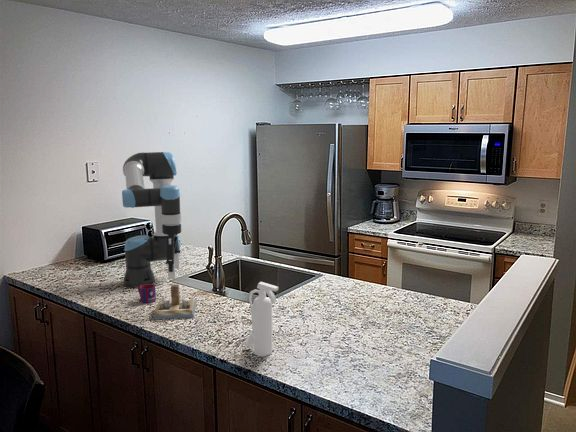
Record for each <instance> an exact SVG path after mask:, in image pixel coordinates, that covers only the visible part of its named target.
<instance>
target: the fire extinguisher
mask: <svg viewBox="0 0 576 432" xmlns="http://www.w3.org/2000/svg"><path fill="white" fill-rule="evenodd" d="M277 291H279V286H277V285H274V284H270V283H267V282H264V281H259V282H258V283H257V286H256V289H253V290H251V291H249V296H248V300H249V301H248V302H249V306H250V317H251V329H252V330H251V333H250V334H249V335H248V336H247V339H246V341H245V345H246V347H247V348H253V354H254V355H255V356H258V357H268V356H270V355H272V353H273V352H274V351H273V344H274V343H273V304H274V303H276V302H277V297H276V295H275V293H274V292H277ZM255 293H257V294H258V297H257V296H256V297H255V298H254V299H253V300H252V297H253V294H255ZM267 296H268V297H267ZM272 351H273V352H272ZM267 355H268V356H267Z"/></svg>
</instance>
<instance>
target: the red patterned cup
mask: <svg viewBox="0 0 576 432" xmlns="http://www.w3.org/2000/svg"><path fill="white" fill-rule="evenodd" d="M137 291H138V294H139V299H140V300H139V301H140V303H142V304H144V305H145V304H146V305H147V304H152V303H155V302H156V301H157V296H156V294H157V293H156V285H155V284H154V283H153V284H145V285H139V286H138V287H137Z"/></svg>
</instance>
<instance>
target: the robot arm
mask: <svg viewBox="0 0 576 432" xmlns="http://www.w3.org/2000/svg"><path fill="white" fill-rule="evenodd" d="M122 172H123V176H124V177H125V186H126V188H125V189H123V190H122V191H121V197H122V199H121V200H122V207H124V208H125V209H126V208H132V209H134V208H143V207H147V208H148V207H154V216H155V217H154V219H155V221H154V222H155V231H154V233H153V234H152V236H153V237H149V235H146V234H143V235H142V234H141V235H135V236H132V237H129V238H127V239H126V240H125V242H124V251H125V252H124V255H125V272H124V277H123V278H122V280H123V281H122V282H123V285H124V286H125V287H127V288H138V286H139V285H145V284H153V285H154V283H155V282H156V277H155V276H156V275H155V274H154V271H153V269H152V265H151V262H160V261H165V265H167V278H168V280H176V270H177V269H180V254H181V236H179V234H181V233H182V224H181V223H182V216H181V215H182V214H181V200H180V199H181V192H180V187H179V186H178V185H173V184H172V182H173V180H174V176H177V172H178V171H177V165H176V159H175V157H174V155H173V153H171V152H169V151H168V152H167V151H159V152H156V151H153V152H149V151H148V152H137V153H135V154H133V155H131V156H130V157H128V158H126V160H125V161H124V163H123V166H122ZM144 177H149V181H150V182H151V183H152V184H153V185H152V186H153V187H152V188H146V187H145V183H144V181H145V180H144Z"/></svg>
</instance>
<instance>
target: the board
mask: <svg viewBox="0 0 576 432" xmlns="http://www.w3.org/2000/svg"><path fill="white" fill-rule="evenodd" d="M181 300H182V302H183V303H184V306H183V309H188V305H187V302H189V300H190V299H189V298H188V297H184V298H181ZM194 300H195V305H194V310H193V314H187V315H166V316H155V313H154V314H153V320H161V319H163V320H164V319H166V320H167V319H179V318H180V319H181V318H182V319H184V318H186V319H187V318H194V317H195V313H196V308H197V305H198V304H197V303H198V301H197V300H196V299H194ZM170 301H171V300H170V299H169V298H164V299H162V303H164V309H163V310H169V308H168V303H169V302H170Z"/></svg>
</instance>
